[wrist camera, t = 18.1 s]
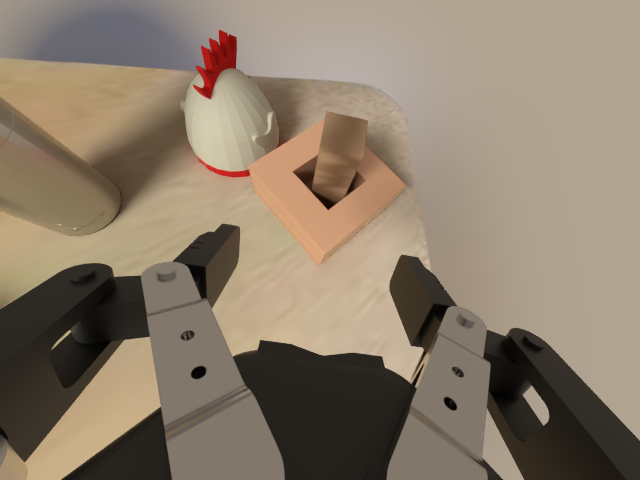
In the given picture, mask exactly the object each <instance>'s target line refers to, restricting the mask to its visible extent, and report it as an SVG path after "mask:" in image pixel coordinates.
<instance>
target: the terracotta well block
mask: <svg viewBox="0 0 640 480" xmlns="http://www.w3.org/2000/svg"><path fill="white" fill-rule="evenodd" d="M324 121H325V119H323V120H322V121H320V122H319V123H317V124H315V125H314V126H312V127H310V128H309V129H307V130H306V131H304V132H302V133H301V134H299V135H298V136H296V137H294V138H293V139H291V140H289V141H288V142H286V143H285V144H283V145H281V146H280V147H278V148H276V149H275V150H273V151H272V152H270V153H268V154H267V155H265V156H263V157H262V158H260V159H259V160H257V161H255V162H254V163H252V164H250V165H249V166H248V167H249V171H250V175H251V179H252V182H253V186H254V190H255V193H256V194H257V195H258V196H259V198H260V199H261V200H262V201H263V202H264V203H265V204H266V206H267V207H268V208H269V209H270V210H271V211H272V213H273V214H274V215H275V216H276V217H277V218H278V219H279V221H280V222H281V223H282V224H283V225H284V226H285V227H286V229H287V230H288V231H289V232H290V233H291V234H292V236H293V237H294V238H295V239H296V240H297V241H298V242H299V244H300V245H301V246H302V247H303V248H304V249H305V251H306V252H307V253H308V254H309V255H310V256H311V257H312V259H313V260H314V261H315V262H316V263H317V264H318V266H319V265H320V264H321V263H322V262H323V261H325V260H326V259H327V258H328V257H329V256H331V255H332V254H333V253H334V252H335V251H336V250H338V249H339V248H340V247H341V246H342V245H343V244H345V243H346V242H347V241H348V240H349V239H351V238H352V237H353V236H354V235H355V234H356V233H358V232H359V231H360V230H361V229H362V228H364V227H365V226H366V225H367V224H368V223H369V222H371V221H372V220H373V219H374V218H375V217H376V216H378V215H379V214H380V213H381V212H382V211H384V210H385V209H386V208H387V207H388V206H389V205H390V204H391V203H392V201H393V200H394V199H395V198H396V197H397V196H398V195H399V194H400V193H401V192H402V190H403V189H404V188H405V187H406V185H405V184H404V183H403V182H402V181H401V180H400V179H399V178H398V177H397V176H396V175H395V174H394V173H393V172H392V171H391V170H390V169H389V168H388V167H387V166H386V165H385V164H384V163H383V162H382V161H381V160H380V159H379V158H378V157H377V156H376V155H375V154H374V153H373V152H372V151H371V150H370V149H369V148H368V147H367V146H366V145H365V149H364V156H363V158H362V160H361V162H360V164H359V167H358V169H357V171H356V173H355V175H354V177H353V179H352V182H351V184H350V186H349V188H348V190H347V192H346V194H345V197H344V198H343V199H342V200H341V201H340V202H338V203H337V204H336V205H334V206H333V207H332V208H330V209H329V210H327V209H326V208H325V206H324V205H323V204H322V203H321V202H320V201H319V200H318V199H317V198H316V197H315V196H314V194H313V193H312V192H311V191H312V186H313V180H314V175H315V169H316V164H317V158H318V153H319V147H320V142H321V137H322V132H323V126H324Z"/></svg>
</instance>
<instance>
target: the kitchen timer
mask: <svg viewBox="0 0 640 480" xmlns="http://www.w3.org/2000/svg"><path fill="white" fill-rule="evenodd" d="M209 42H210V47H211V51H210V50H209V49H207V48H205V47H203V46H201V49H202V54H203V58H204V63H205V67H206V68H204V69H203V68H201V67H199V66H196V68H197V70H198V72H199V73H198V74H197V75H196V76H195V78H194V79H193V81H192V82H191V84H190V86H189V88H188V91H187V95H186V98H185V99H182V100H181V101H180V108H181V109H182V111H184V113H185V123H186V130H187V135H188V140H189V143H190V145H191V147H192V149H193V151H194V153H195V154H196V156H197V158H198V159H199V161H200V162H201V163H202V164H203V165H204V166H205V167H206V168H208V169H209V170H211V171H213V172H215V173H217V174H219V175H223V176H229V177H246V176H249V175H250V171H249V167H248V166H249V165H250V164H252V163H254V162H255V161H257V160H259V159H260V158H262V157H263V156H265V155H267V154H268V153H270V152H272V151H273V150H275V149H276V148H278V147H279V144H280V134H279V128H278V125H277V119H276V113H275V112H274V111H273V110H272V108H271V106H270V104H269V102H268V100H267V98H266V97H265V95H264V94H263V93H262V91H261V90H260V88H259V87H258V86H257V85H256V83H255V82H254V81H253V80H252V79H250V77H249V76H247V75H245V74H244V73H243V72H241V71H240V70H238V69H236V51H237V41H236V37H234V36H232V35H230V34H229V36H228V35H227V33H225V32H223V31H221V30H219V42H220V46H219V44H218V42H217V41H215V40H212V39H210V38H209ZM211 52H212V53H211Z"/></svg>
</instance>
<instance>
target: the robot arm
mask: <svg viewBox="0 0 640 480" xmlns="http://www.w3.org/2000/svg"><path fill="white" fill-rule="evenodd" d="M120 205H121V194H120V192H119V189H118V188H117V187H116V185H115V184H114V183H112V182H111V181H110V180H109V179H107V178H106V177H105V176H103V175H102V174H101V173H100V172H98V171H97V170H96V169H94V168H93V167H92V166H91V165H89V164H88V163H87V162H85V161H84V160H83V159H81V158H80V157H79V156H77V155H76V154H75V153H73V152H72V151H71V150H70V149H68V148H67V147H66V146H64V145H63V144H62V143H60V142H59V141H58V140H56V139H55V138H54V137H52V136H51V135H50V134H48V133H47V132H46V131H45V130H43V129H42V128H41V127H39V126H38V125H37V124H35V123H34V122H33V121H31V120H30V119H29V118H27V117H26V116H25V115H23V114H22V113H21V112H20V111H18V110H17V109H16V108H14V107H13V106H12V105H10V104H9V103H8V102H6V101H5V100H4V99H2V98H1V97H0V211H1V212H4V213H6V214H9V215H12V216H15V217H17V218H20V219H23V220H26V221H28V222H31V223H34V224H36V225H39V226H42V227H45V228H47V229H50V230H53V231H56V232H58V233H61V234H65V235H69V236H81V235H87V234H90V233H94V232H96V231H98V230H100V229H102V228H103V227H105V226H106V225H108V224H109V223H110V222H111V221H112V220H113V219H114V217H115V216H116V214H117V213H118V211H119V208H120ZM239 244H240V227H239V226H234V225H228V224H222V225H221V226H220V227H219V228H218V229H217V230H216V231H215V232H207V233H205V234H202V235H200V236H199V237H198V238H197V239H196V240H195V241H194V242H193V243H191V244H190V245H189V247H187V248H186V249H185V250H184V251H183V252H182V253H181V254H180V255H179V256H178V257H177V258H176V259H175V260H174V261H172V262H164V263H159V264H155V265H153V266H151V267H149V268H147V269H146V270H145V271H144V272H143V273H142V275H141V276H124V277H114V274H113V270H112V268H111V267H110V266H108V265H105V264H99V263H90V264H82V265H77V266H74V267H70V268H68V269H65V270H63V271H61V272H59V273H57V274H56V275H54V276H53V277H51V278H49V279H48V280H46V281H45V282H43V283H42V284H40V285H38V286H37V287H35V288H34V289H32V290H31V291H29V292H27V293H26V294H24V295H23V296H21V297H20V298H18V299H16V300H15V301H13V302H12V303H10V304H9V305H7V306H5V307H4V308H2V309H1V310H0V480H27V474H28V471H27V466H26V464H25V462H26V460H27V459H28V458H29V457H30V455H31V454H32V453H33V452H34V451H35V449H36V448H37V447H38V446H39V444H40V443H41V442H42V441H43V439H44V438H45V437H46V436H47V435H48V433H49V432H50V431H51V430H52V428H53V427H54V426H55V425H56V423H57V422H58V421H59V420H60V418H61V417H62V416H63V415H64V414H65V412H66V411H67V410H68V409H69V407H70V406H71V405H72V404H73V402H74V401H75V400H76V399H77V397H78V396H79V395H80V394H81V393H82V391H83V390H84V389H85V388H86V386H87V385H88V384H89V383H90V381H91V380H92V379H93V378H94V377H95V375H96V374H97V373H98V372H99V370H100V369H101V368H102V367H103V365H104V364H105V363H106V362H107V360H108V359H109V358H110V357H111V356H112V354H113V353H114V352H115V351H116V349H117V348H118V347H119V346H120V344H121V343H122V342H123V341H124V340H126V339H134V338H142V337H150V340H151V346H152V353H153V359H154V365H155V372H156V378H157V384H158V391H159V397H160V403H161V407H160V408H158V409H157V410H156V411H154V412H153V413H152V414H150V415H149V416H147V417H146V418H145V419H143V420H142V421H141V422H139V423H138V424H137V425H135V426H134V427H132V428H131V429H130V430H128V431H127V432H126V433H124V434H123V435H122V436H120V437H119V438H117V439H116V440H115V441H113V442H112V443H111V444H109V445H108V446H107V447H105V448H104V449H102V450H101V451H100V452H98V453H97V454H96V455H94V456H93V457H91V458H90V459H89V460H87V461H86V462H85V463H83V464H82V465H81V466H79V467H78V468H76V469H75V470H74V471H72V472H71V473H70V474H68V475H67V476H66V477H64V478H63V479H61V480H503V479H502V478H501V477H500V476H499V475H498V474H497V473H496V472H495V471H494V470H493V469H492V468H491V467H490V466H489V464H488V463H487V462H486V461H485V460H484V459H483V458H482V453H483V442H484V431H485V421H486V409H488V411H489V412H490V415H491V417H492V418H493V420H494V422H495V424H496V426H497V428H498V430H499V432H500V434H501V436H502V438H503V440H504V441H505V443H506V445H507V447H508V449H509V451H510V453H511V455H512V457H513V459H514V461H515V463H516V465H517V466H518V468H519V470H520V472H521V474H522V476H523V478H524V480H640V441H639V440H638V439H637V437H636V436H635V435H634V434H633V433H632V432H631V431H630V430H629V429H628V428H627V427H626V426H625V425H624V424H623V423H622V422H621V421H620V420H619V418H618V417H617V416H616V415H615V414H614V413H613V412H612V411H611V410H610V409H609V408H608V407H607V406H606V405H605V404H604V403H603V402H602V400H601V399H600V398H598V396H597V395H596V394H595V393H594V392H593V391H592V390H591V389H590V388H589V387H588V386H587V385H586V384H585V383H584V382H583V380H582V379H581V378H580V377H579V376H578V375H577V374H576V373H575V372H574V371H573V370H572V369H571V368H570V367H569V366H568V365H567V363H565V361H564V360H563V359H562V358H561V357H560V356H559V355H558V354H557V353H556V352H555V351H554V350H553V349H552V348H551V347H550V346H549V345H548V344H547V343H546V342H545V341H543V340H542V339H541V338H539V337H538V336H536V335H534V334H532V333H530V332H528V331H526V330H523V329H519V328H513V329H511V330H510V331H509V332H508V334H507V335H506V336H503V335H500V334H497V333H495V332H492V331H489V330H487V327H486V325H485V323H484V322H483V321H482V320H481V319H480V318H479V317H478V316H477V315H475V314H474V313H472V312H471V311H469V310H467V309H464V308H461V307H458V306H457V305H456V304H455V303H454V301H453V300H452V298H451V297H450V296H449V294H448V293H447V291H446V290H444V287H443V286H442V285H441V284H440V282H439V280H438V279H437V278H436V276H435V275H434V274H433V273H431V272H430V271H429V270H428V269H426V268H425V267H424V265H423V264H422V262H421V261H420V260H419V258H418V257H412V256H407V255H401V256H400V258H399V260H398V263H397V265H396V268H395V270H394V273H393V275H392V278H391V280H390V293H391V296H392V298H393V301H394V303H395V306H396V308H397V311H398V314H399V316H400V319H401V321H402V324H403V326H404V329H405V331H406V334H407V336H408V339H409V342H410V344H411V346H416V347H423V349H424V351H423V353H422V355H421V357H420V359H419V361H418V363H417V365H416V368H415V370H414V372H413V374H412V376H411V379H410V381H409V382H408V381H407V380H406V379H404V378H403V377H402V376H400V375H398V374H397V373H395V372H393V371H391V370H389V369H387V368H385V367H384V363H383V359H382V357H381V356H373V355H366V354H359V353H346V354H336V355H327V356H322V355H318V354H316V353H313V352H310V351H308V350H305V349H302V348H300V347H297V346H295V345H292V344H286V343H278V342H271V341H264V340H260V344H259V347H258V350H254V351H249V352H244V353H241V354H238V355H235V356H233V357H232V354H231V352H230V350H229V348H228V345H227V343H226V341H225V339H224V336H223V334H222V332H221V329H220V327H219V325H218V323H217V320H216V318H215V316H214V313H213V311H212V307H213V306H214V304H215V302H216V301H217V299H218V297H219V295H220V294H221V292H222V290H223V289H224V287H225V285H226V283H227V282H228V280H229V278H230V277H231V275H232V273H233V271H234V270H235V268H236V266H237V263H238V259H239ZM69 330H71V333H70V334H69V335H68V336H67V337H65V338H64V339H63V340H62V341H61V342H60V343H59V344H58V345H57V346H56V347H55V348H54V349H52V347H53V346H54V344H55V343H56V342H57V341H58V340H59V339H60V338H61V337H62V336H63V335H64V334H65V333H66V332H67V331H69ZM51 349H52V350H51ZM531 386H533V387H534V389H535V390H536V392H537V393H538V394H539V396H540V397H541V398H542V400H543V401H544V402H545V404H546V406H547V408H548V410H549V421H548V423H547V424H545V425H544V426H543V425H542V423H541V422H540V420H539V419H538V417H537V416H536V414H535V413H534V411H533V410H532V408H531V407H530V405H529V404H528V402H527V401H526V400H525V398H524V397H523V394H524V393H525V392H526V391H527V390H528V389H529V388H530V387H531Z"/></svg>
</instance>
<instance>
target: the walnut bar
mask: <svg viewBox="0 0 640 480" xmlns="http://www.w3.org/2000/svg"><path fill="white" fill-rule="evenodd" d="M367 123H368V121H367V120H363V119H358V118H354V117H350V116H345V115H341V114H336V113H332V112H328V111H326V116H325V121H324V126H323V132H322V137H321V142H320V147H319V153H318V158H317V164H316V169H315V175H314V180H313V186H312V191H311V192H312V193H313V194H314V196H315V197H316V198H317V199H318V200H319V201H320V202H321V203H322V204H323V205H324V206H325V208H326V209H327V210H329V209H330V208H332V207H333V206H334V205H336V204H337V203H338V202H340V201H341V200H342V199H343V198H344V197H345V194H346V192H347V190H348V188H349V186H350V184H351V182H352V179H353V177H354V175H355V173H356V171H357V169H358V167H359V164H360V162H361V160H362V158H363V156H364V149H365V140H366V132H367Z"/></svg>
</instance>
